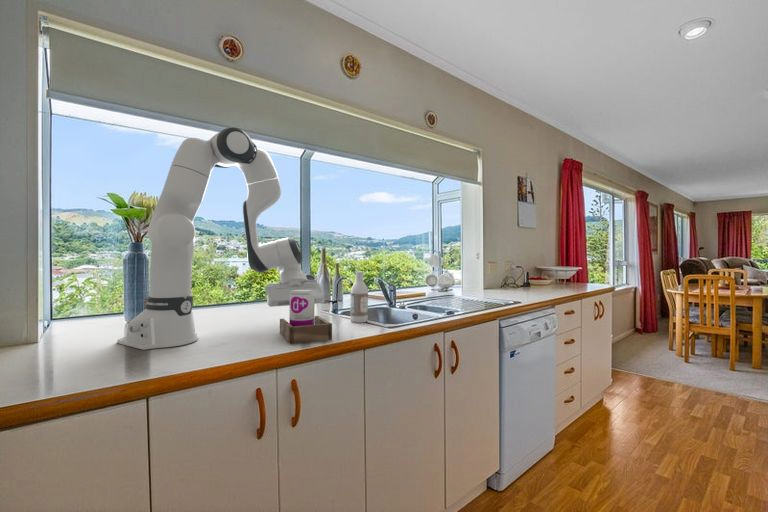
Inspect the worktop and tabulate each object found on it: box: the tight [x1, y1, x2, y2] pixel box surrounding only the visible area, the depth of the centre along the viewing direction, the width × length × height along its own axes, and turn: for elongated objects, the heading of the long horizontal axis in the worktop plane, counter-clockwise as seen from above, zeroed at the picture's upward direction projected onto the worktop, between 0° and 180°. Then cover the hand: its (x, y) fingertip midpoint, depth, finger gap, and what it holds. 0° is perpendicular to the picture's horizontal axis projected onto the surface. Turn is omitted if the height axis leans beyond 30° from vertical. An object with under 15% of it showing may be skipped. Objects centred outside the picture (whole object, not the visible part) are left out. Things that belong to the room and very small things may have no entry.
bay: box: [279, 315, 333, 345], centre depth 121 cm, size 15×13×5 cm
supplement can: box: [288, 289, 316, 327], centre depth 124 cm, size 8×8×15 cm
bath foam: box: [349, 270, 369, 324], centre depth 147 cm, size 7×7×20 cm
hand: (299, 313), depth 128 cm, fingers closed, pressing on supplement can
